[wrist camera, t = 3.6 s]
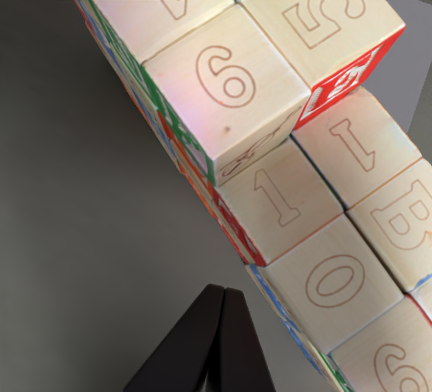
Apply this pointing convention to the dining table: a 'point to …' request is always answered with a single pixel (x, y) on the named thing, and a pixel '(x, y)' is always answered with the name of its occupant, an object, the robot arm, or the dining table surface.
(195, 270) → the dining table surface
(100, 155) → the dining table surface
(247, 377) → the robot arm
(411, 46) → the grey flat board
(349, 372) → the stack of blocks
